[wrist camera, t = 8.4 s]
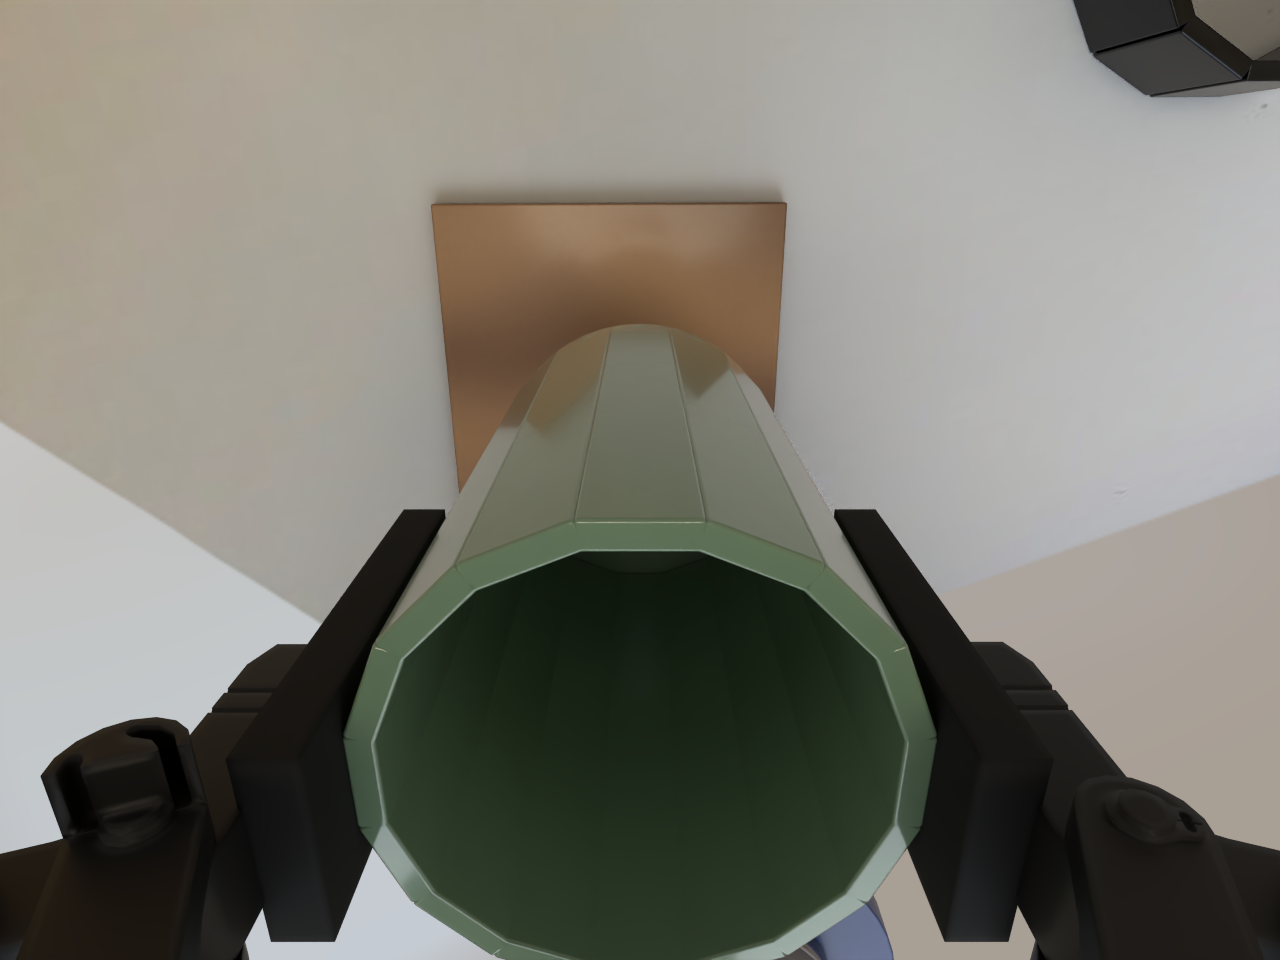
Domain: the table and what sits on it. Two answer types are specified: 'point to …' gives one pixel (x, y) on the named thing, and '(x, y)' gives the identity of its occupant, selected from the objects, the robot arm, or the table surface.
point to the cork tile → (596, 290)
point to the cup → (640, 680)
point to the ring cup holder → (1171, 50)
